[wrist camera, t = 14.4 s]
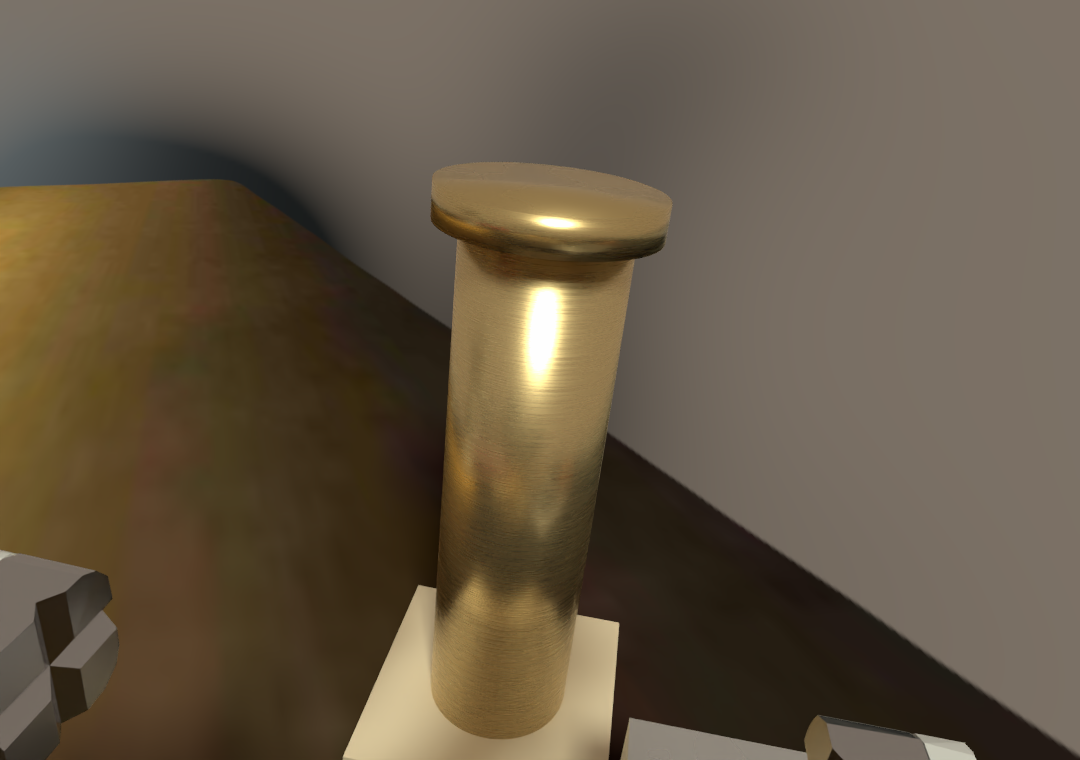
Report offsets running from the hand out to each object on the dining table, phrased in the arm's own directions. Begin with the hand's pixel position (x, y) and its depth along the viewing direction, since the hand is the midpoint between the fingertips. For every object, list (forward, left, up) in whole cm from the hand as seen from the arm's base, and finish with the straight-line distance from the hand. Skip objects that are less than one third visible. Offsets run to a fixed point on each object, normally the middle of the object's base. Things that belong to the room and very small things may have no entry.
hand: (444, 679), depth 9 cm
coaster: (-1, +13, -15) cm, 20 cm away
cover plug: (-1, +13, -14) cm, 19 cm away
